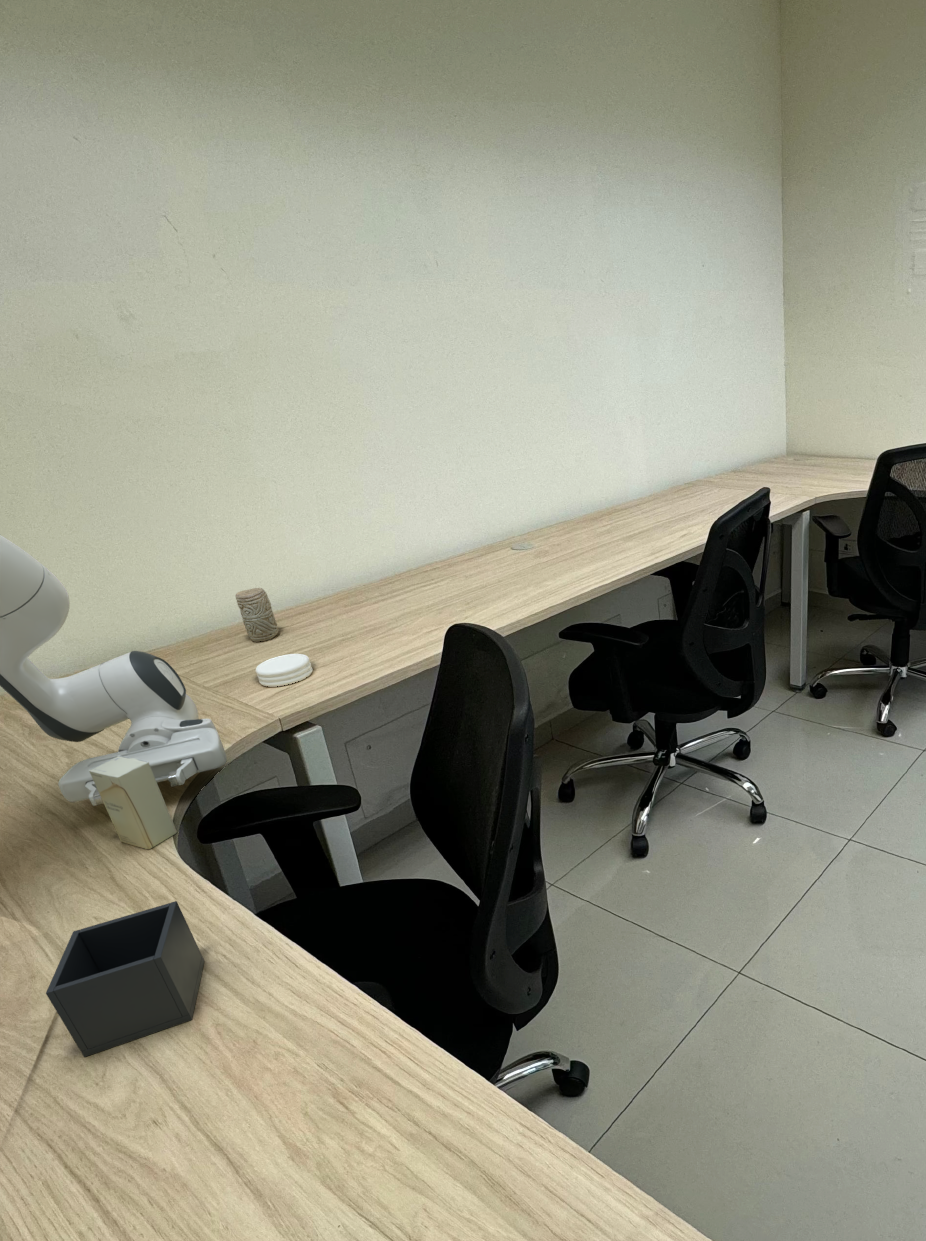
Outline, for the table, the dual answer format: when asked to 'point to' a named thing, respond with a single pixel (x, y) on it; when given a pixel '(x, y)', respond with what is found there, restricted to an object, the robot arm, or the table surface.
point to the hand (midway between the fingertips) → (136, 790)
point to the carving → (257, 614)
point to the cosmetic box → (133, 801)
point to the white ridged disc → (284, 670)
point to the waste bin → (127, 978)
